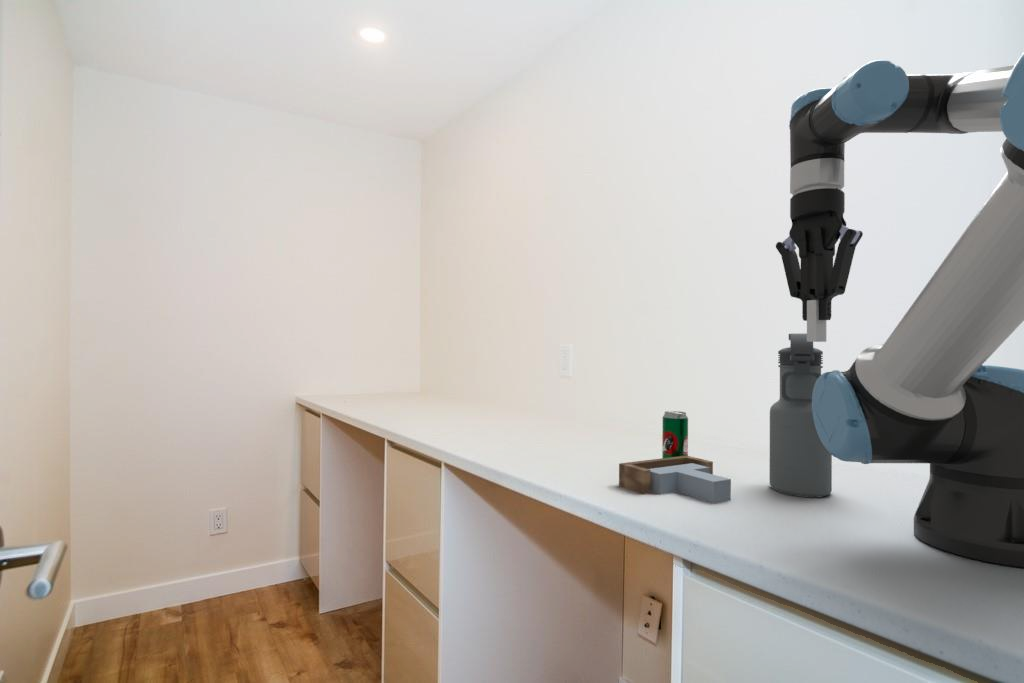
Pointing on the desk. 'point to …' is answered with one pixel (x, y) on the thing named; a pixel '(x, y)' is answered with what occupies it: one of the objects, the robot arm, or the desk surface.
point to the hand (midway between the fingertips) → (816, 341)
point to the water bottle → (798, 425)
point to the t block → (690, 482)
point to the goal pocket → (639, 473)
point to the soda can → (675, 434)
